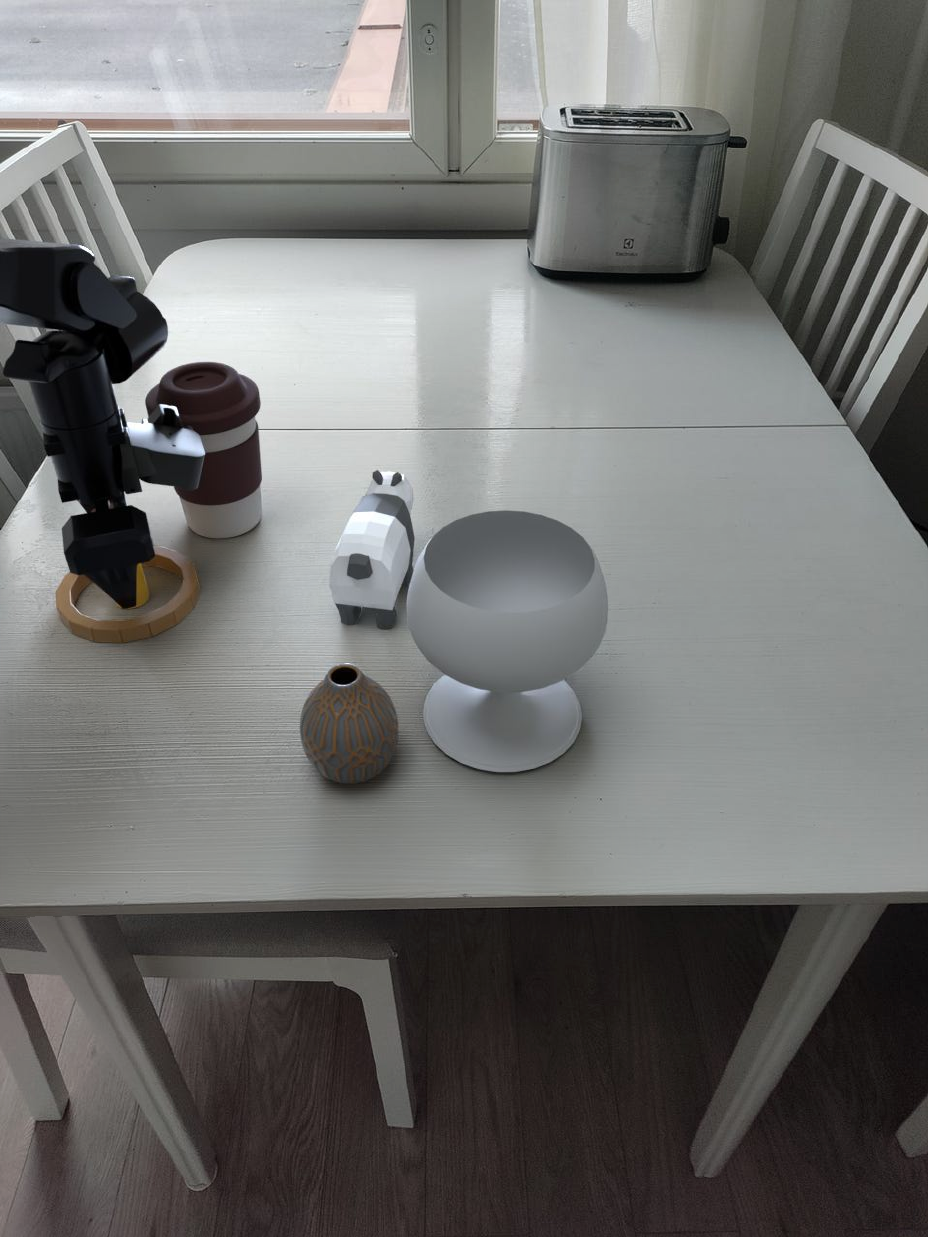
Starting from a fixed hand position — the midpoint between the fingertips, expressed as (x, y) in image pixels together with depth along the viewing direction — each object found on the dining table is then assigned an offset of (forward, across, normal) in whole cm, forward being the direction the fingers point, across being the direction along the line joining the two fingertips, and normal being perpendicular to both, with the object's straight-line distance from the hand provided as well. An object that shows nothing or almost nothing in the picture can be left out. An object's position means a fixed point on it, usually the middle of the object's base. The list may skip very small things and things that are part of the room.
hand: (124, 575), depth 83 cm
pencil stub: (+3, 0, 0) cm, 3 cm away
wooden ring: (+3, 0, 0) cm, 3 cm away
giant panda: (+3, -6, -21) cm, 22 cm away
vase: (+3, -25, -13) cm, 29 cm away
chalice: (+3, -24, -25) cm, 35 cm away
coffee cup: (+3, +10, -10) cm, 14 cm away
